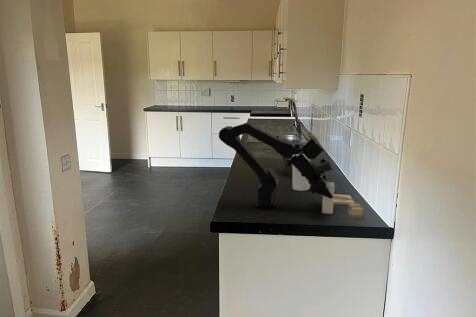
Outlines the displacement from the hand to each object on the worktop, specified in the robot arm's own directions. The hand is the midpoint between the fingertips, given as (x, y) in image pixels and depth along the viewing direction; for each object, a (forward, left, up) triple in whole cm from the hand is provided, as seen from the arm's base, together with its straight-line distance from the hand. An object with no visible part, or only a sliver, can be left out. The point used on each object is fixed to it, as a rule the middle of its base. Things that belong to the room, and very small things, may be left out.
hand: (331, 195), depth 140 cm
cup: (+14, +27, -7) cm, 31 cm away
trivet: (+14, +5, -7) cm, 16 cm away
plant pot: (+30, +45, -7) cm, 55 cm away
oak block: (+3, -9, -7) cm, 12 cm away
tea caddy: (-1, +1, -7) cm, 7 cm away
